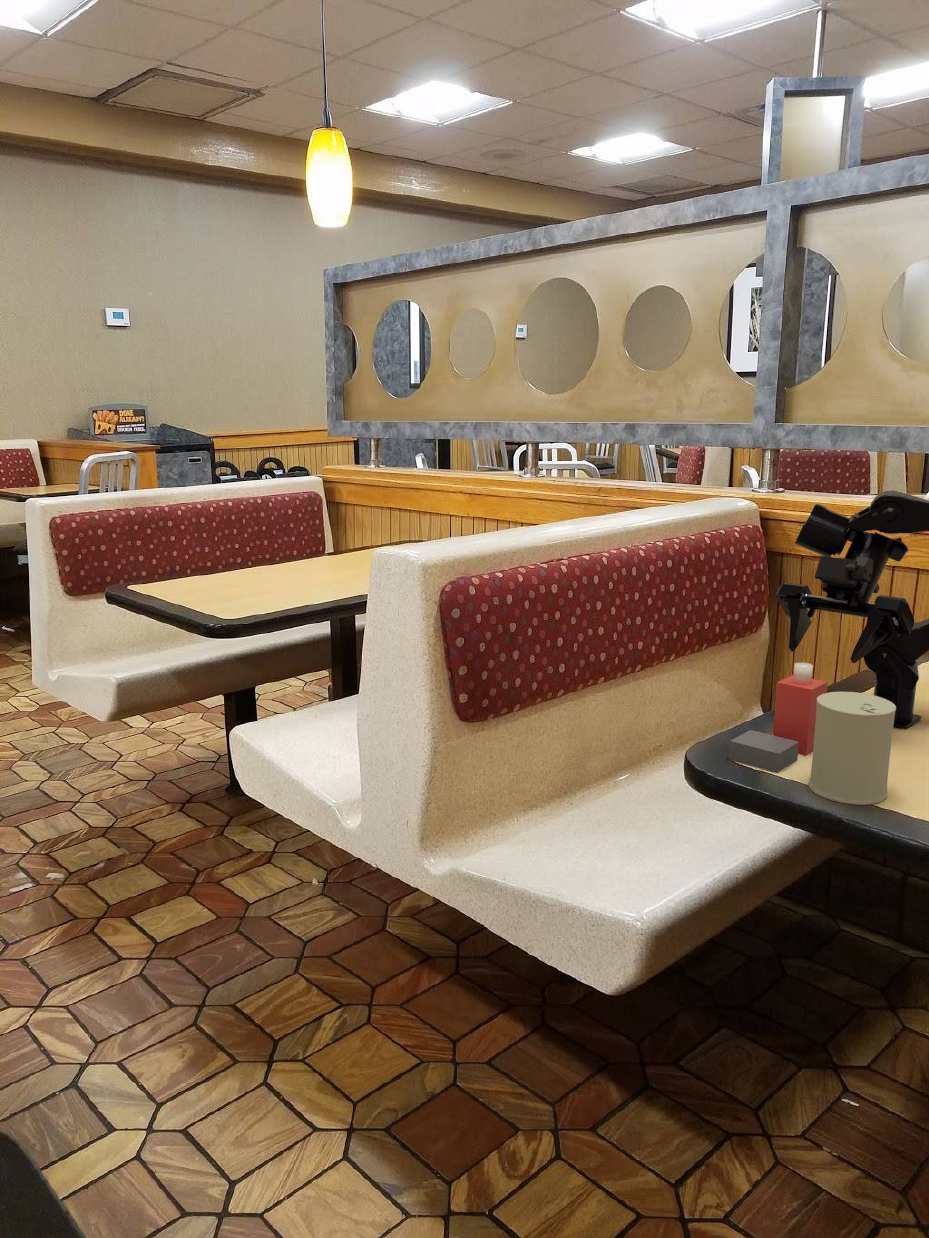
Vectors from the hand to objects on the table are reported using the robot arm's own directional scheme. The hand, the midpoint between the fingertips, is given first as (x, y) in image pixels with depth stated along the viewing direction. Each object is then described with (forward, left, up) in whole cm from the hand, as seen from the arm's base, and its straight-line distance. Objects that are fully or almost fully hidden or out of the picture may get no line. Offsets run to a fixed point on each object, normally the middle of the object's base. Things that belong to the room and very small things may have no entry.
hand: (820, 655), depth 138 cm
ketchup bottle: (+6, 0, -12) cm, 13 cm away
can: (+16, +12, -12) cm, 23 cm away
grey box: (+14, -1, -12) cm, 19 cm away
